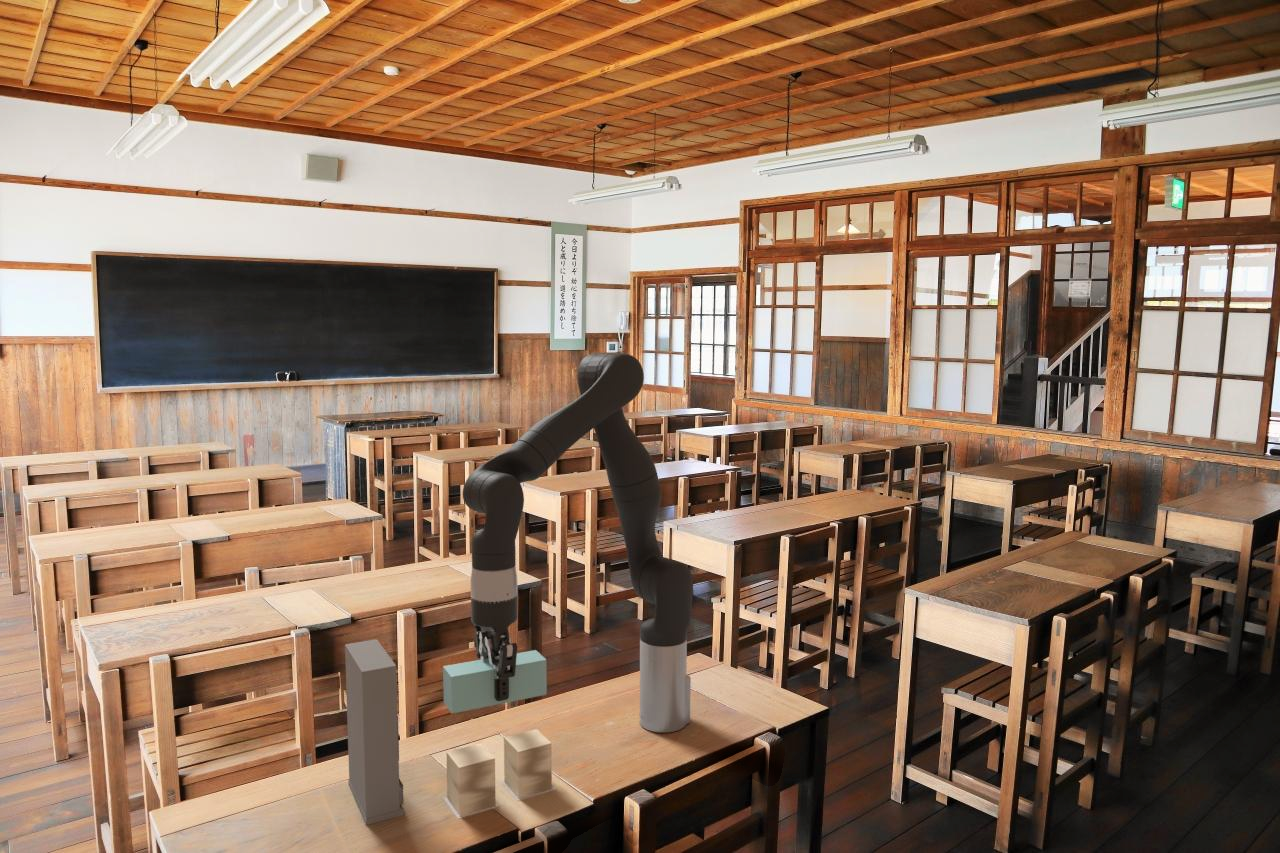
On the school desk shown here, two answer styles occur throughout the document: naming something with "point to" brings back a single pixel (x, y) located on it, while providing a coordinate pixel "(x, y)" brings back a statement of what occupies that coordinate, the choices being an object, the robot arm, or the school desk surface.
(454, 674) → the lintel
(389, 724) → the tall grey upright post
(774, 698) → the school desk surface
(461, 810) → the pillar
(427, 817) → the school desk surface
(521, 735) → the pillar
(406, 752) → the school desk surface
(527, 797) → the thin flat base plate
